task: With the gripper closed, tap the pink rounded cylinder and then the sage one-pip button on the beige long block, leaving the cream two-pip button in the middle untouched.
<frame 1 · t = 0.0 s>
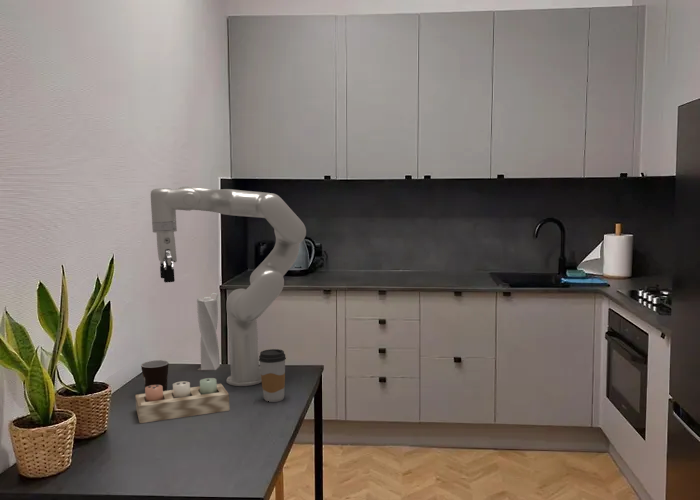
hand: (167, 279, 238), 37 cm above the table, tool pointing down, fingers open, 9 cm apart
button sage: (208, 388, 224), point 6 cm above the table, slide at 0.0 cm
coffee cup: (274, 399, 231), on the table
beige long block: (182, 410, 222), on the table
skyscraper: (210, 369, 269), on the table
coffee mug: (157, 393, 241), on the table
pink rounded cylinder: (154, 395, 219), point 6 cm above the table, slide at 0.0 cm
button cream: (181, 391, 221), point 6 cm above the table, slide at 0.0 cm
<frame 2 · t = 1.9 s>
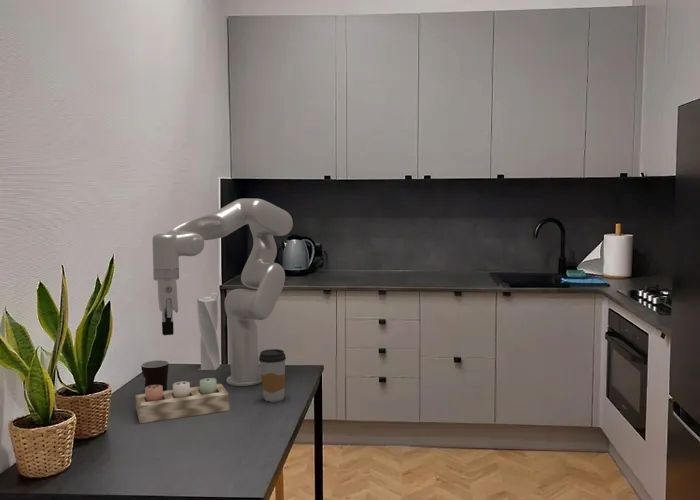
hand: (167, 334, 224), 22 cm above the table, tool pointing down, fingers closed
nothing on the table moved.
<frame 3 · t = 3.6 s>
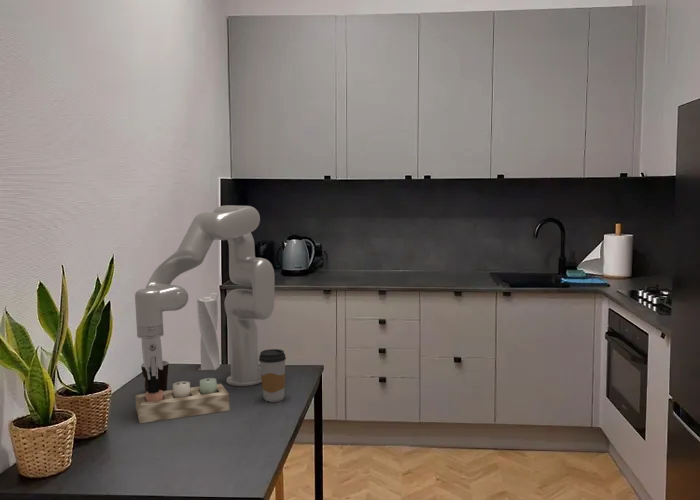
hand: (153, 391, 218), 7 cm above the table, tool pointing down, fingers closed
pink rounded cylinder: (154, 400, 219), point 4 cm above the table, slide at 1.5 cm
everything else where it was.
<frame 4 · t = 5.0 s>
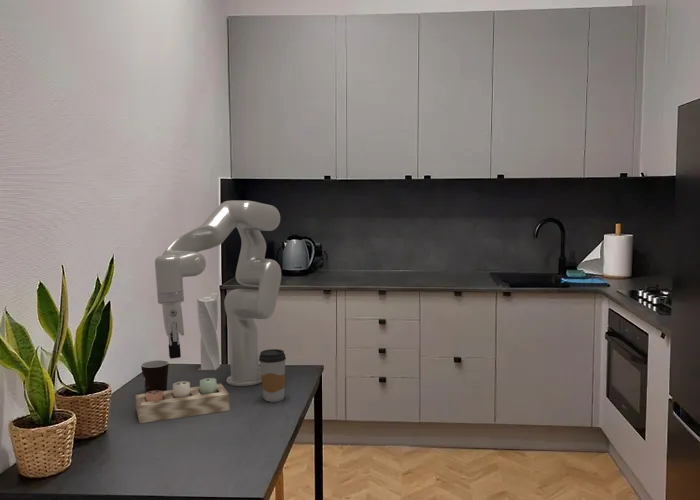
hand: (175, 357, 220), 17 cm above the table, tool pointing down, fingers closed
nothing on the table moved.
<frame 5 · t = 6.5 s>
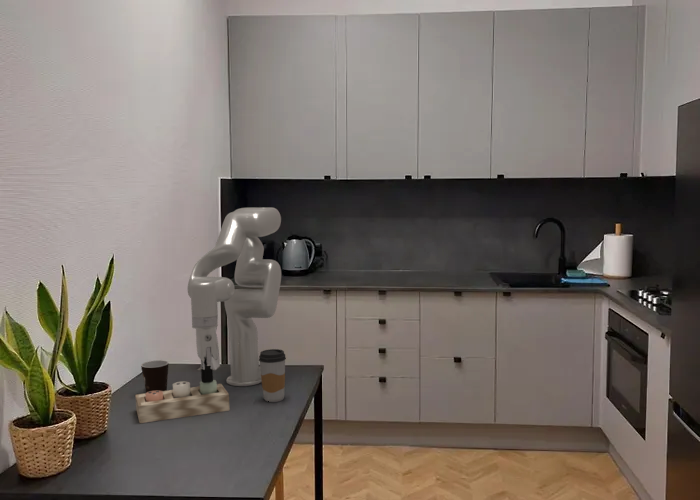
hand: (207, 381, 223), 8 cm above the table, tool pointing down, fingers closed
button sage: (208, 389, 224), point 5 cm above the table, slide at 0.5 cm, touching gripper
everything else where it was.
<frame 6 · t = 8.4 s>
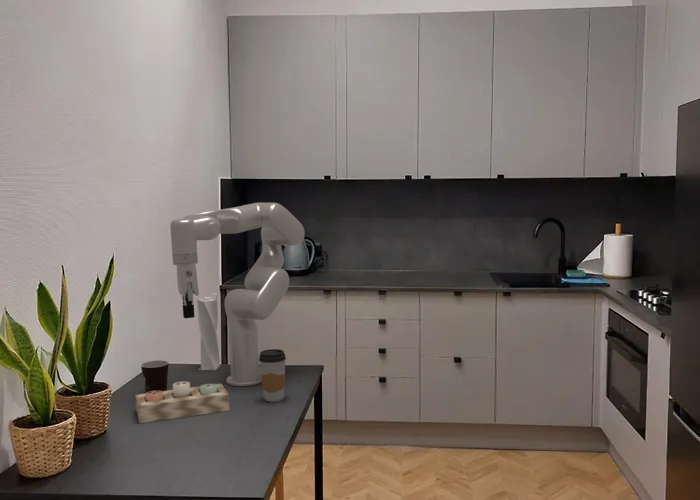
hand: (188, 317, 229), 26 cm above the table, tool pointing down, fingers closed
button sage: (208, 393, 224), point 4 cm above the table, slide at 1.8 cm
everything else where it was.
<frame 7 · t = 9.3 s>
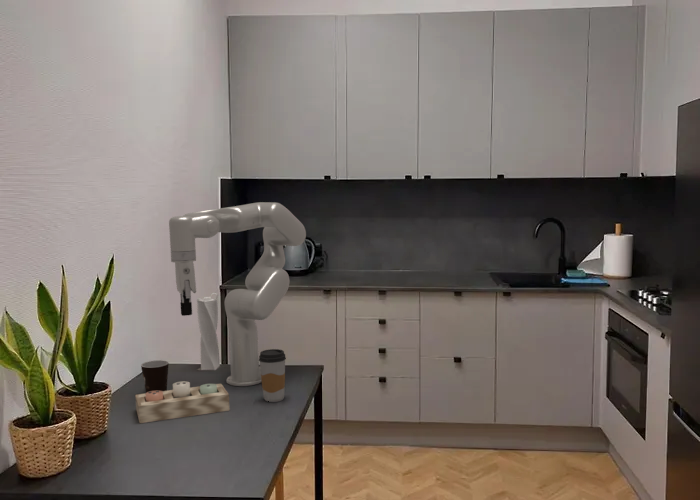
hand: (186, 314, 230), 27 cm above the table, tool pointing down, fingers closed
nothing on the table moved.
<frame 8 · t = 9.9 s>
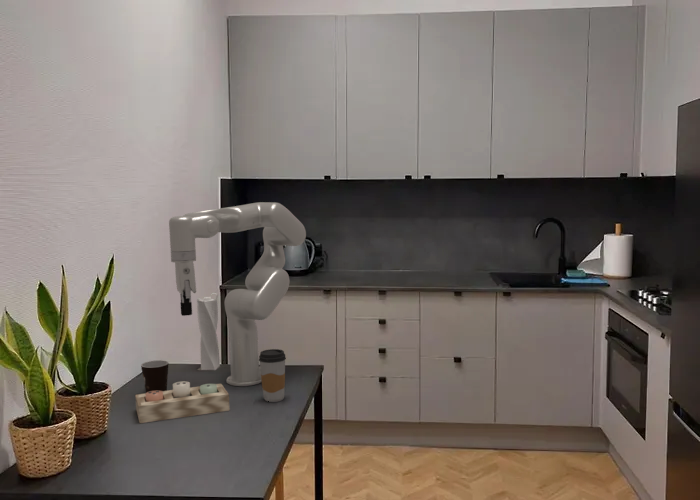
hand: (186, 314, 230), 27 cm above the table, tool pointing down, fingers closed
nothing on the table moved.
at the end: pink rounded cylinder slide at 1.8 cm; button sage slide at 1.8 cm; button cream slide at 0.0 cm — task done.
